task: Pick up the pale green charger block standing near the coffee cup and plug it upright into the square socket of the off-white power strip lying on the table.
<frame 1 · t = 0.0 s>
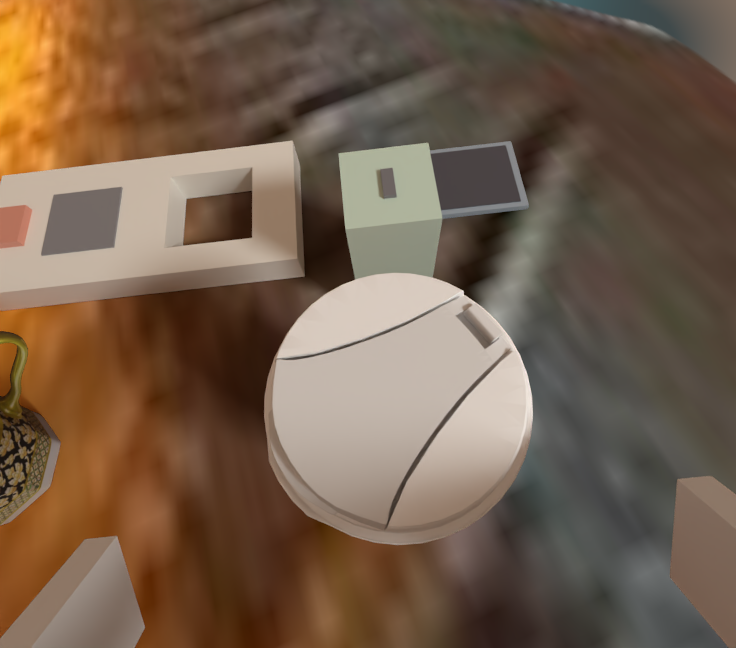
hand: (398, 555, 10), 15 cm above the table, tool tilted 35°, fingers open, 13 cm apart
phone: (444, 189, 33), on the table
ceramic cup: (31, 449, 27), on the table
coffee cup: (395, 443, 26), on the table
power strip: (157, 234, 33), on the table
charger block: (390, 279, 30), on the table
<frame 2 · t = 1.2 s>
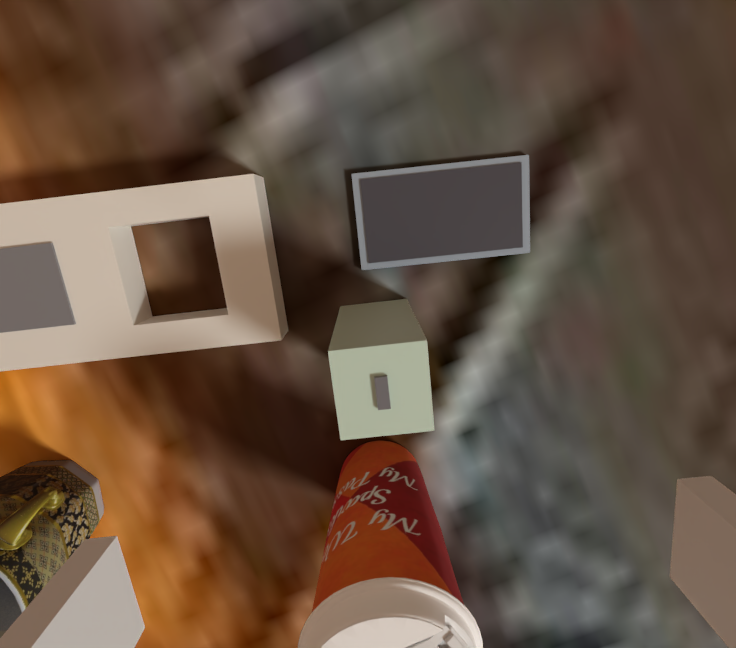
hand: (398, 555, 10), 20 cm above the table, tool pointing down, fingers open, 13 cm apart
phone: (440, 214, 28), on the table
ceramic cup: (74, 482, 33), on the table
coffee cup: (379, 474, 33), on the table
power strip: (112, 275, 29), on the table
charger block: (376, 334, 30), on the table
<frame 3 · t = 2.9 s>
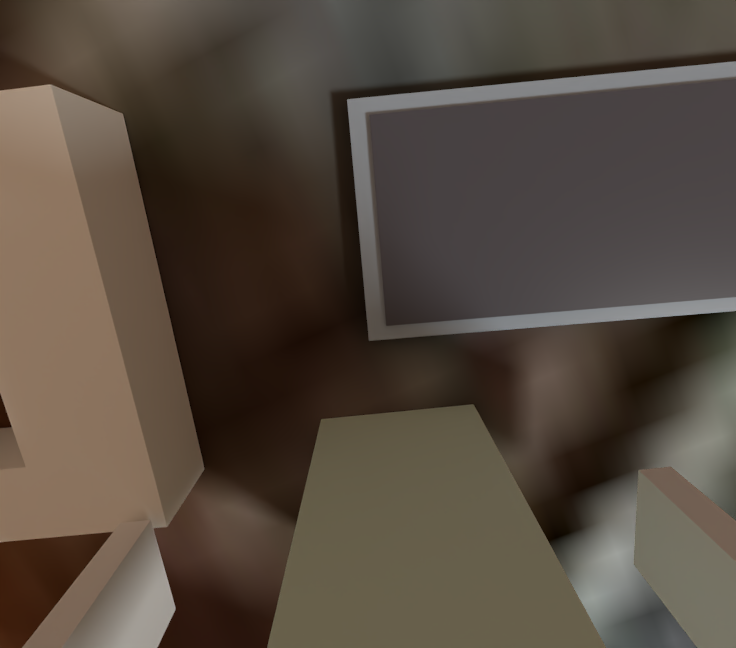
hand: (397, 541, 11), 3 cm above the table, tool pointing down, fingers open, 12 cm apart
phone: (559, 209, 12), on the table
charger block: (403, 478, 13), on the table
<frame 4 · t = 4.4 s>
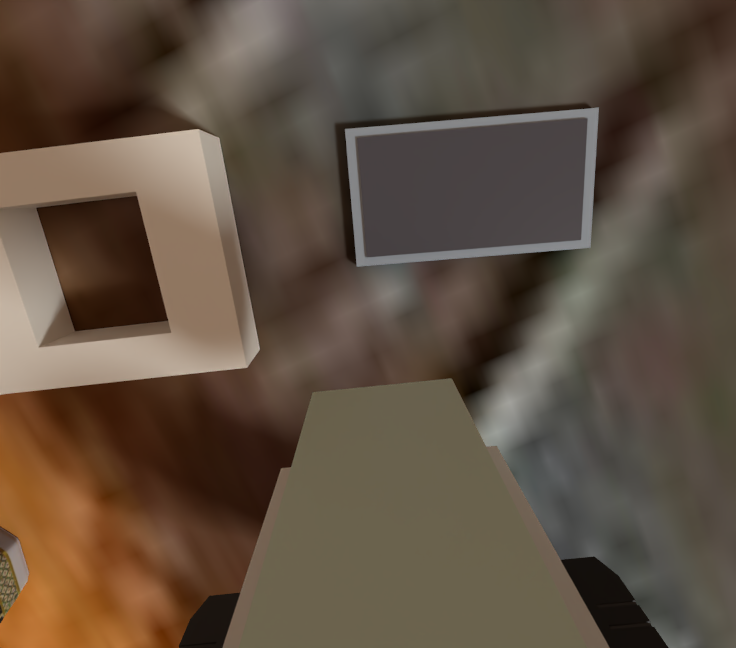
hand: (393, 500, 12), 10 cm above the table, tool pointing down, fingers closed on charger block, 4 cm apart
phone: (467, 191, 20), on the table
power strip: (15, 276, 21), on the table
charger block: (388, 447, 14), point 8 cm above the table, touching gripper
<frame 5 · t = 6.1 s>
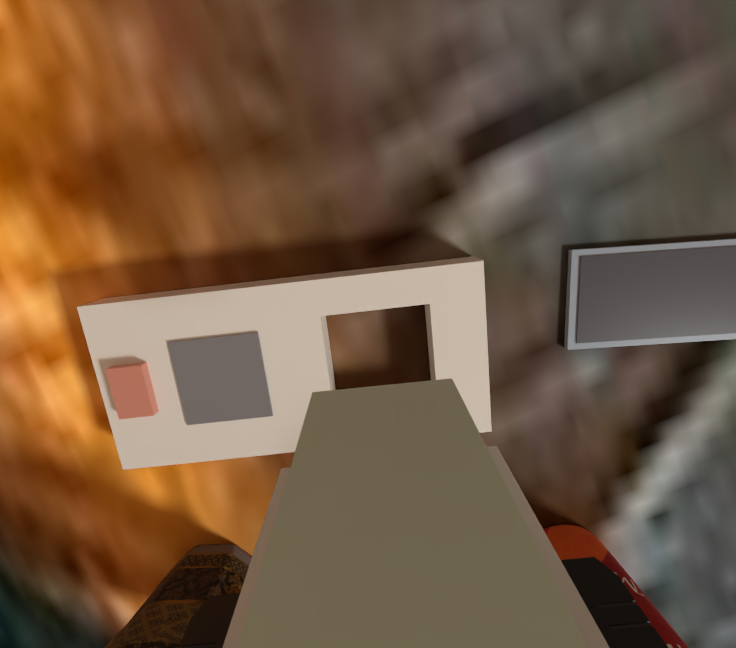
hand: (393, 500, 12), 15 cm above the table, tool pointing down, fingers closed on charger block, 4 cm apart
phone: (652, 292, 26), on the table
ceramic cup: (234, 565, 31), on the table
coffee cup: (558, 557, 31), on the table
power strip: (298, 357, 27), on the table
charger block: (388, 447, 14), point 12 cm above the table, touching gripper
when the fingers open (3 cm above the table, at t = 7.8 s): charger block stays where it is, resting in power strip.
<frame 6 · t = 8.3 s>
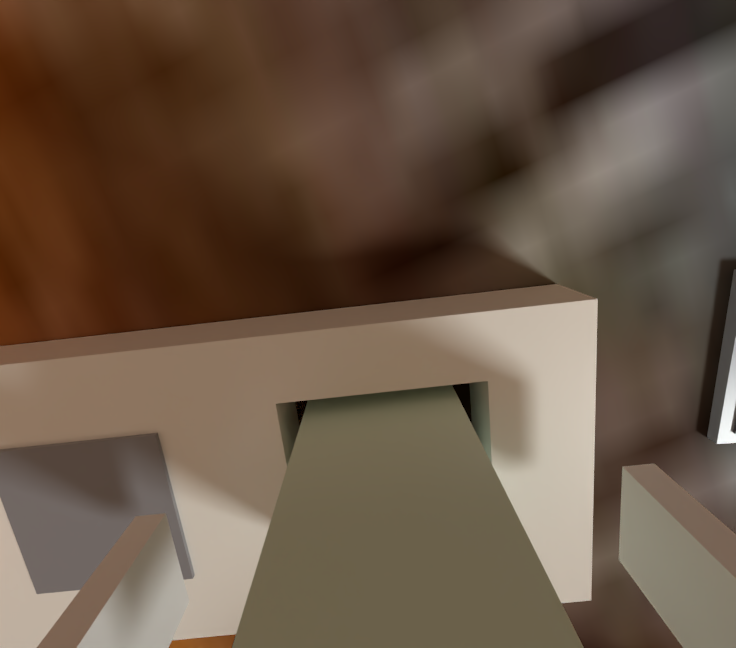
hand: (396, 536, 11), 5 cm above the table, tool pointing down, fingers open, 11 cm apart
power strip: (248, 456, 15), on the table
charger block: (385, 435, 15), resting in power strip
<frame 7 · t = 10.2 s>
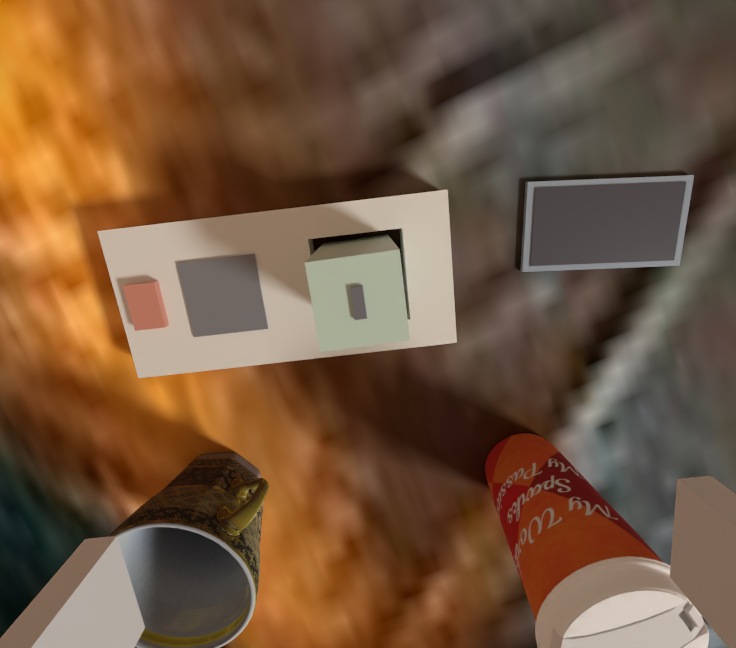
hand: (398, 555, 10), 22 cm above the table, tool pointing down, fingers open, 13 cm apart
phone: (598, 224, 30), on the table
ceramic cup: (235, 473, 35), on the table
coffee cup: (519, 464, 35), on the table
power strip: (290, 282, 31), on the table
charger block: (359, 270, 30), resting in power strip
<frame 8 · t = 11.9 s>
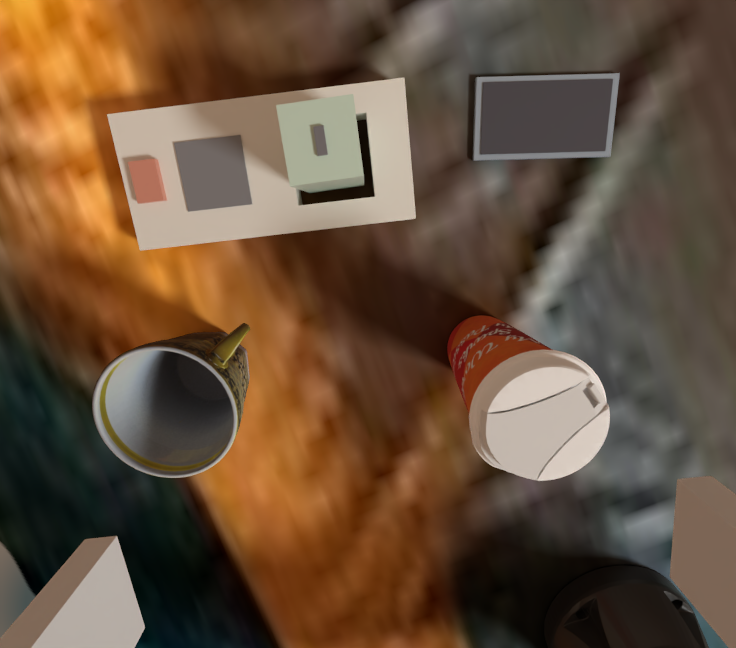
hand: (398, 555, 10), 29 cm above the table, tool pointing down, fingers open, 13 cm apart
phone: (540, 120, 35), on the table
ceramic cup: (225, 353, 39), on the table
coffee cup: (478, 346, 39), on the table
power strip: (272, 171, 35), on the table
charger block: (333, 160, 35), resting in power strip
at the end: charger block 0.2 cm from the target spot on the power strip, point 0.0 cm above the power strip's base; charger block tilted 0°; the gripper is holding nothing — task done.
